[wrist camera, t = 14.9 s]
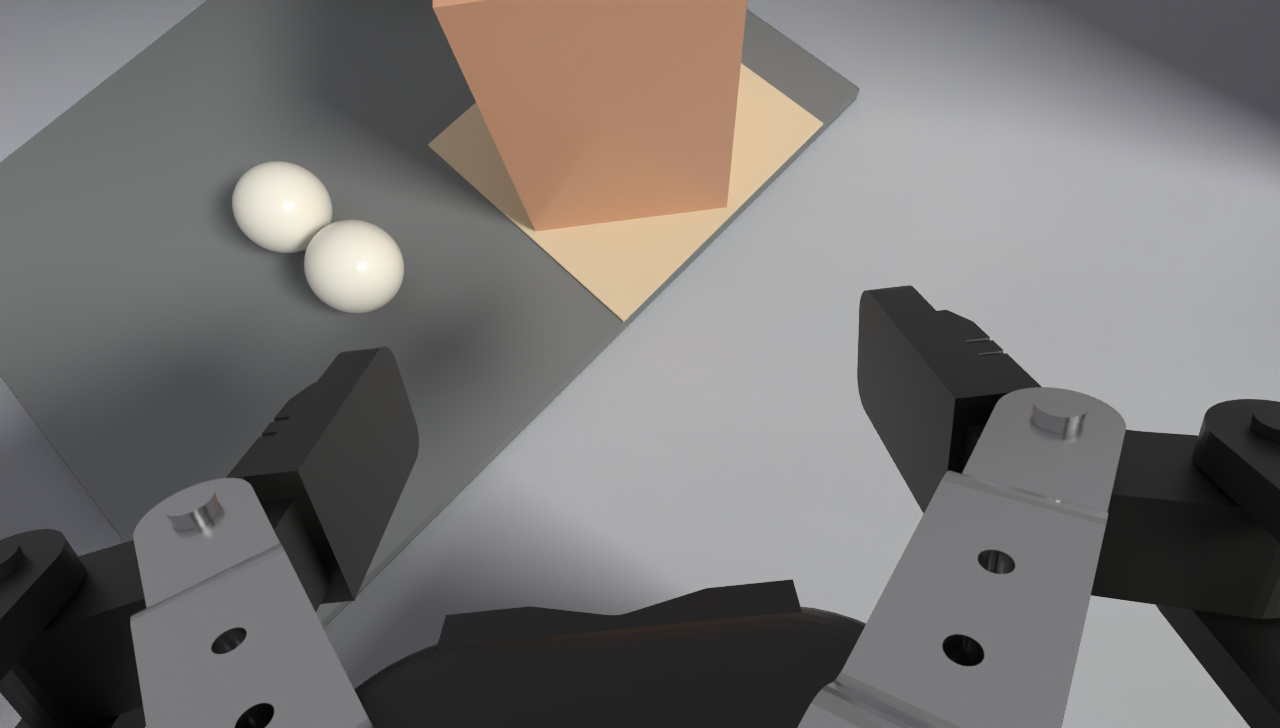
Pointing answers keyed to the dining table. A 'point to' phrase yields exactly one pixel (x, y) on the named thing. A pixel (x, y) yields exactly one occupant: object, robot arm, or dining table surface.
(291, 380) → the mat
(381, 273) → the marble
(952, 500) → the robot arm
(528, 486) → the dining table surface
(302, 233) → the marble
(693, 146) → the orange block
